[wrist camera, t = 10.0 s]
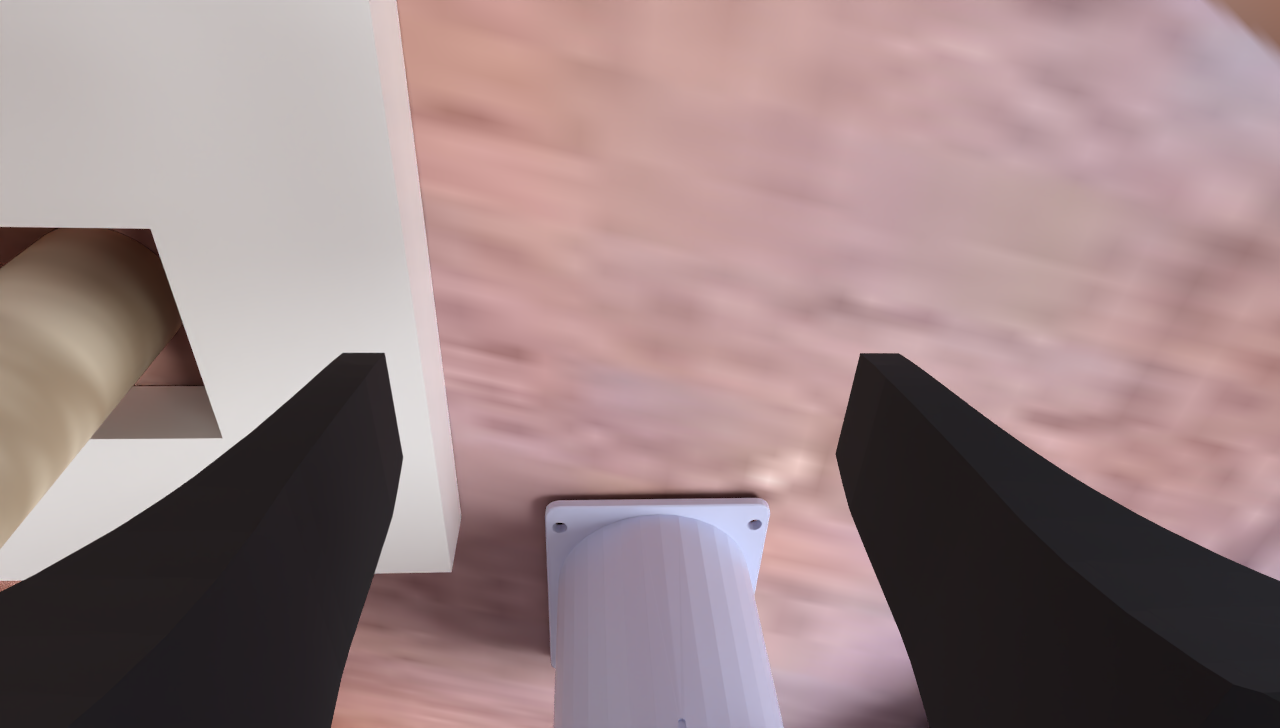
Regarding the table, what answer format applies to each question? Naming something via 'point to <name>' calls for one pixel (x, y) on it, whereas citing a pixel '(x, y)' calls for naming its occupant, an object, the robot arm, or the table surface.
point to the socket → (233, 233)
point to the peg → (71, 351)
